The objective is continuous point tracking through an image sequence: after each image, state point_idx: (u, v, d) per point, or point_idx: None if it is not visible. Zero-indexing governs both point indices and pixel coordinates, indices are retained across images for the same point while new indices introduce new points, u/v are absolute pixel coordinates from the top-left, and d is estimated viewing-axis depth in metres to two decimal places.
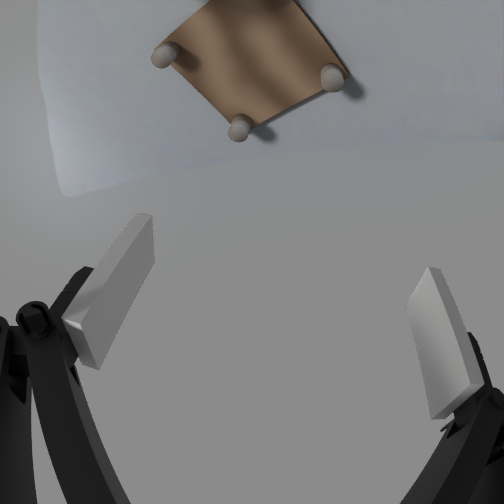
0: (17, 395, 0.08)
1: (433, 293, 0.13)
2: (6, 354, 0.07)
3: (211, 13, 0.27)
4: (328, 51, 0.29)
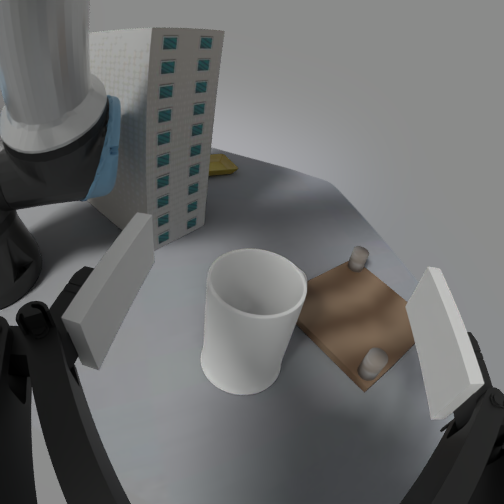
0: (17, 395, 0.08)
1: (433, 293, 0.13)
2: (6, 354, 0.07)
3: (325, 333, 0.36)
4: (339, 267, 0.46)
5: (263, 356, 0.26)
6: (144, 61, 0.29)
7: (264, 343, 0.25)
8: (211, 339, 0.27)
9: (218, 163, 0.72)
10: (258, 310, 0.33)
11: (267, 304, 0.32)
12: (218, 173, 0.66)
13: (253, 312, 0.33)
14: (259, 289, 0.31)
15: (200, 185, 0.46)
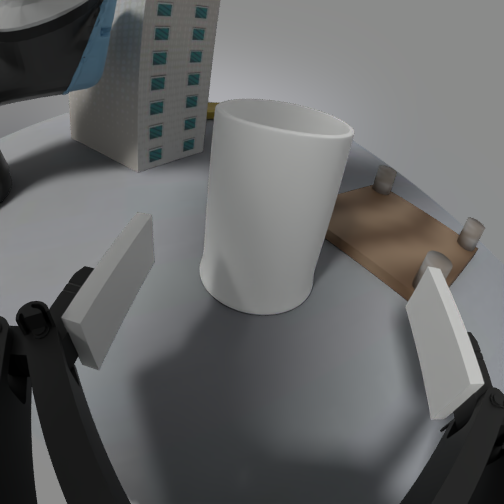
0: (17, 395, 0.08)
1: (433, 293, 0.13)
2: (6, 354, 0.07)
3: (363, 244, 0.28)
4: (364, 188, 0.38)
5: (299, 226, 0.17)
6: None
7: (302, 194, 0.16)
8: (218, 207, 0.18)
9: None
10: None
11: None
12: None
13: None
14: None
15: (199, 99, 0.38)
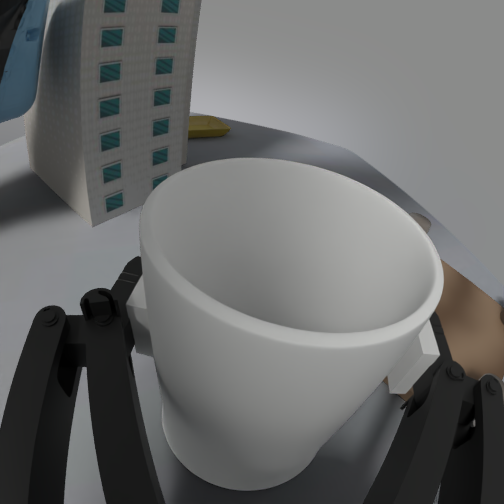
0: (63, 387, 0.09)
1: None
2: (60, 346, 0.08)
3: None
4: None
5: (307, 441, 0.08)
6: None
7: (320, 418, 0.07)
8: (165, 390, 0.09)
9: (205, 126, 0.54)
10: (283, 315, 0.15)
11: (306, 302, 0.14)
12: (205, 134, 0.49)
13: (272, 320, 0.16)
14: (289, 266, 0.14)
15: (172, 123, 0.29)
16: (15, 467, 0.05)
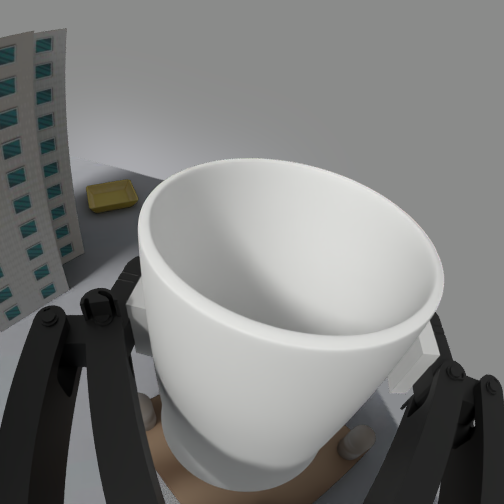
0: (63, 387, 0.09)
1: None
2: (59, 346, 0.08)
3: (179, 477, 0.21)
4: None
5: (307, 443, 0.08)
6: None
7: (320, 420, 0.07)
8: (164, 391, 0.09)
9: (121, 192, 0.55)
10: (283, 316, 0.15)
11: (306, 304, 0.14)
12: (114, 208, 0.50)
13: (272, 320, 0.16)
14: (289, 267, 0.14)
15: (45, 245, 0.30)
16: (15, 467, 0.05)
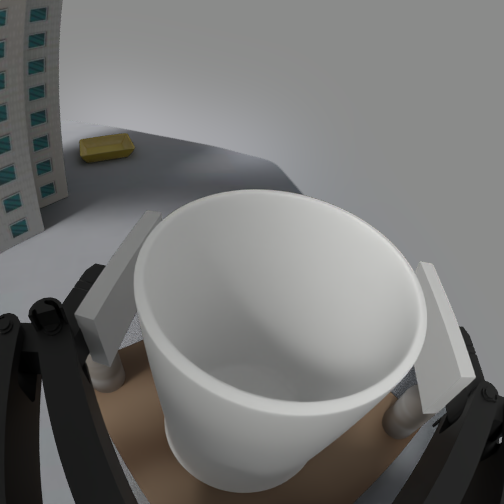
0: (26, 393, 0.08)
1: (425, 288, 0.13)
2: (17, 352, 0.08)
3: (151, 463, 0.14)
4: None
5: (298, 461, 0.09)
6: None
7: (308, 449, 0.08)
8: (168, 417, 0.10)
9: (117, 145, 0.49)
10: (276, 330, 0.16)
11: (299, 320, 0.15)
12: (107, 157, 0.44)
13: (267, 333, 0.16)
14: (281, 288, 0.14)
15: (18, 169, 0.23)
16: None
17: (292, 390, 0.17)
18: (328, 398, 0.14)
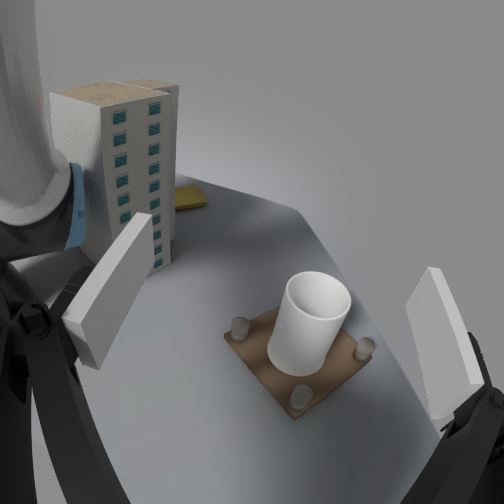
0: (17, 395, 0.08)
1: (433, 293, 0.13)
2: (6, 354, 0.07)
3: (263, 367, 0.42)
4: None
5: (321, 346, 0.38)
6: (98, 137, 0.35)
7: (324, 336, 0.36)
8: (284, 336, 0.39)
9: (190, 194, 0.77)
10: (309, 314, 0.45)
11: (317, 309, 0.44)
12: (189, 207, 0.72)
13: None
14: (312, 299, 0.43)
15: (163, 231, 0.52)
16: None
17: None
18: None
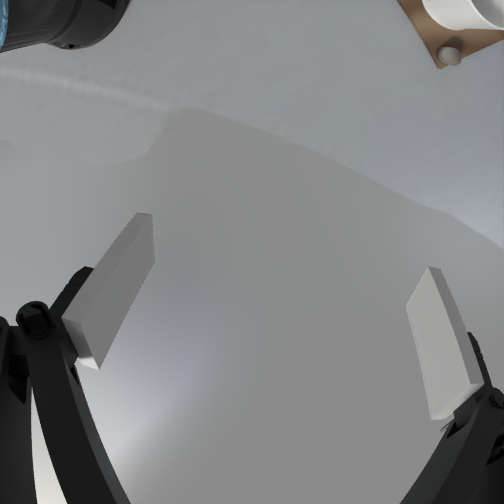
0: (17, 395, 0.08)
1: (433, 293, 0.13)
2: (6, 354, 0.07)
3: (416, 11, 0.28)
4: None
5: None
6: None
7: None
8: (448, 6, 0.22)
9: None
10: None
11: None
12: None
13: None
14: None
15: None
16: None
17: None
18: (486, 9, 0.22)
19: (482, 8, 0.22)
